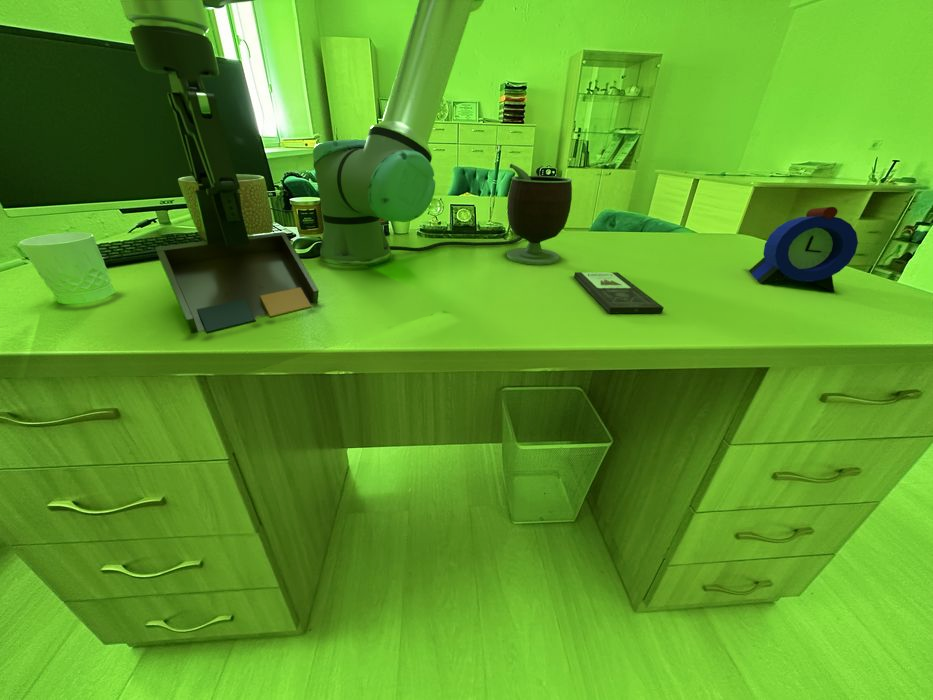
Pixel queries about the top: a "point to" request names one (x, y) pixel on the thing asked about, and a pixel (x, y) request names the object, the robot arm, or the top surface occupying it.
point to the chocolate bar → (617, 293)
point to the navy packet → (225, 315)
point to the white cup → (70, 266)
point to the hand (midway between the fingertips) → (230, 238)
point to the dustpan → (231, 268)
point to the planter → (251, 202)
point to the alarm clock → (808, 249)
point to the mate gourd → (537, 214)
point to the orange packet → (284, 302)
